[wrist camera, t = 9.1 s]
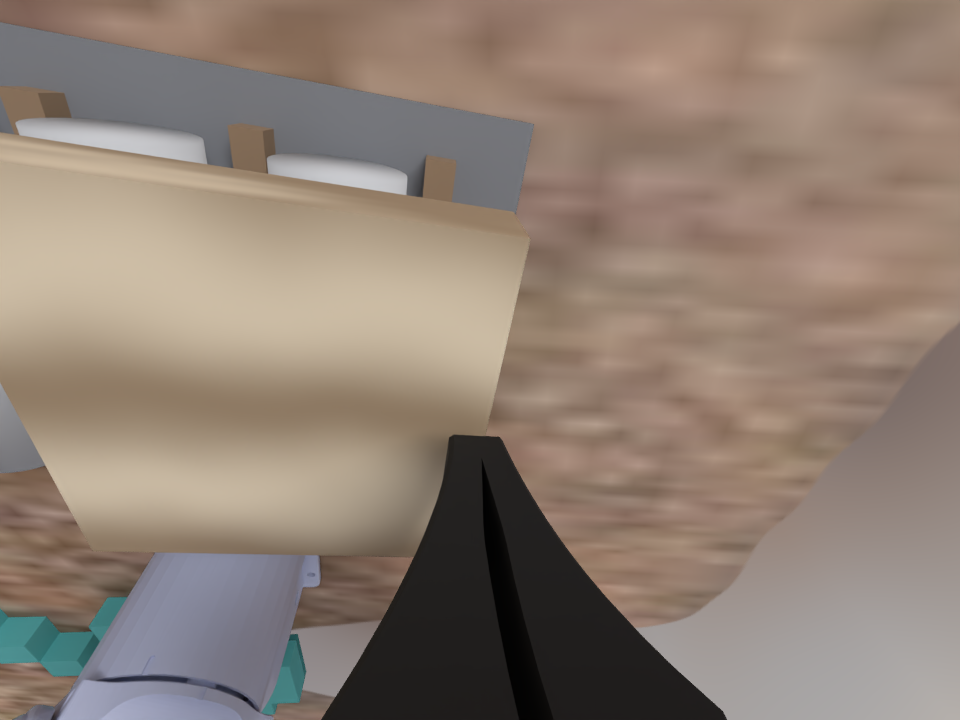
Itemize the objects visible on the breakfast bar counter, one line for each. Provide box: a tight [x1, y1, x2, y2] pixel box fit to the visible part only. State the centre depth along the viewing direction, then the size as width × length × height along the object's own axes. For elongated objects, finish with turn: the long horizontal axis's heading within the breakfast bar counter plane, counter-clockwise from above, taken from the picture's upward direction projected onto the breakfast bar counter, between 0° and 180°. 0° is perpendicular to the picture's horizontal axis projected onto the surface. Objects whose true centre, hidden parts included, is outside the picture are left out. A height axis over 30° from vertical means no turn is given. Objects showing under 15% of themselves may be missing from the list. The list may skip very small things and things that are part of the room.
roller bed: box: [0, 22, 534, 473], centre depth 14 cm, size 19×28×6 cm
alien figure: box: [0, 597, 306, 715], centre depth 32 cm, size 20×2×20 cm
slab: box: [0, 132, 530, 557], centre depth 12 cm, size 12×12×2 cm
